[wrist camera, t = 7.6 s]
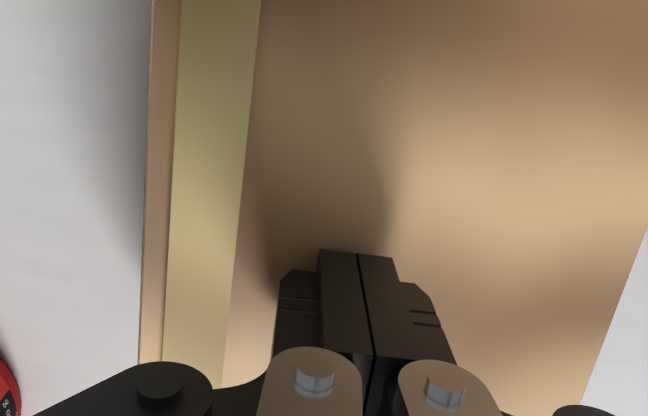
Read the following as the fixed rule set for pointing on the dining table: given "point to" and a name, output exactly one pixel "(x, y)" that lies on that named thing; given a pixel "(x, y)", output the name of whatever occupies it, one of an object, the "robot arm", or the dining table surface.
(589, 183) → the lid
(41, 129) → the dining table surface
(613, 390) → the dining table surface
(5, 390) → the canned food
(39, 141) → the dining table surface
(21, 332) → the dining table surface
